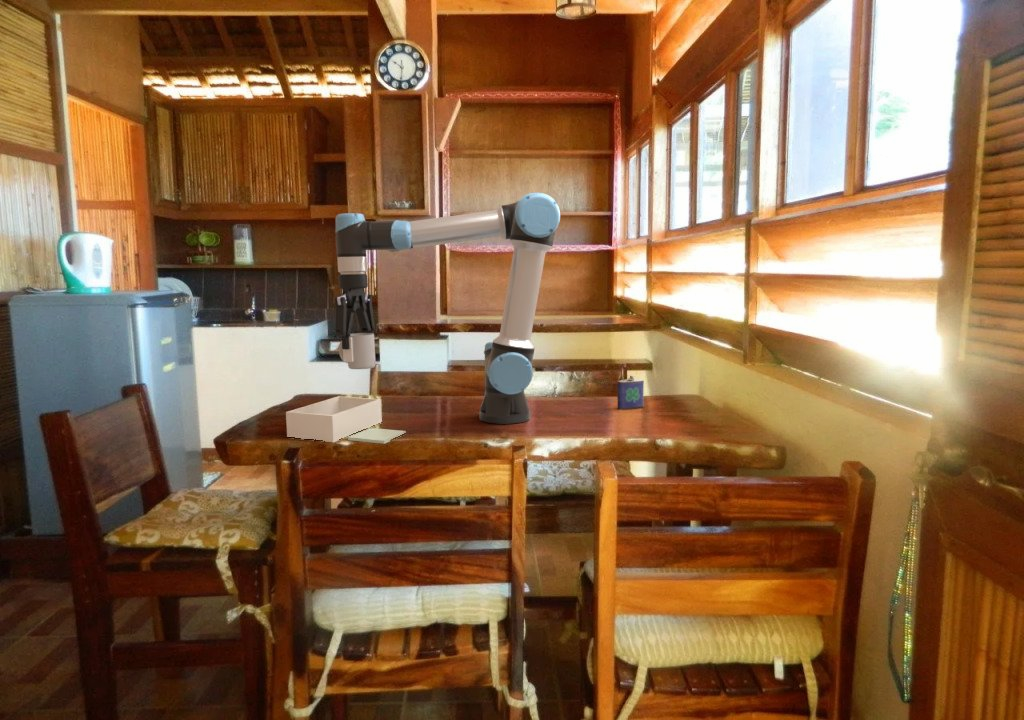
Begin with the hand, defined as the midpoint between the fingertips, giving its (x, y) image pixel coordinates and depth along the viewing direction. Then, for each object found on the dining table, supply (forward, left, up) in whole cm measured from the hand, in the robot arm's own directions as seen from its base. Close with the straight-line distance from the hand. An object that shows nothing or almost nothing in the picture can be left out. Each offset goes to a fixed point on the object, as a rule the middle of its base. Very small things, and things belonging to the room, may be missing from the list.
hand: (357, 359), depth 183 cm
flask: (-63, -58, -21) cm, 88 cm away
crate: (+9, -1, -20) cm, 22 cm away
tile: (-6, +2, -20) cm, 21 cm away
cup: (0, 0, -2) cm, 2 cm away
